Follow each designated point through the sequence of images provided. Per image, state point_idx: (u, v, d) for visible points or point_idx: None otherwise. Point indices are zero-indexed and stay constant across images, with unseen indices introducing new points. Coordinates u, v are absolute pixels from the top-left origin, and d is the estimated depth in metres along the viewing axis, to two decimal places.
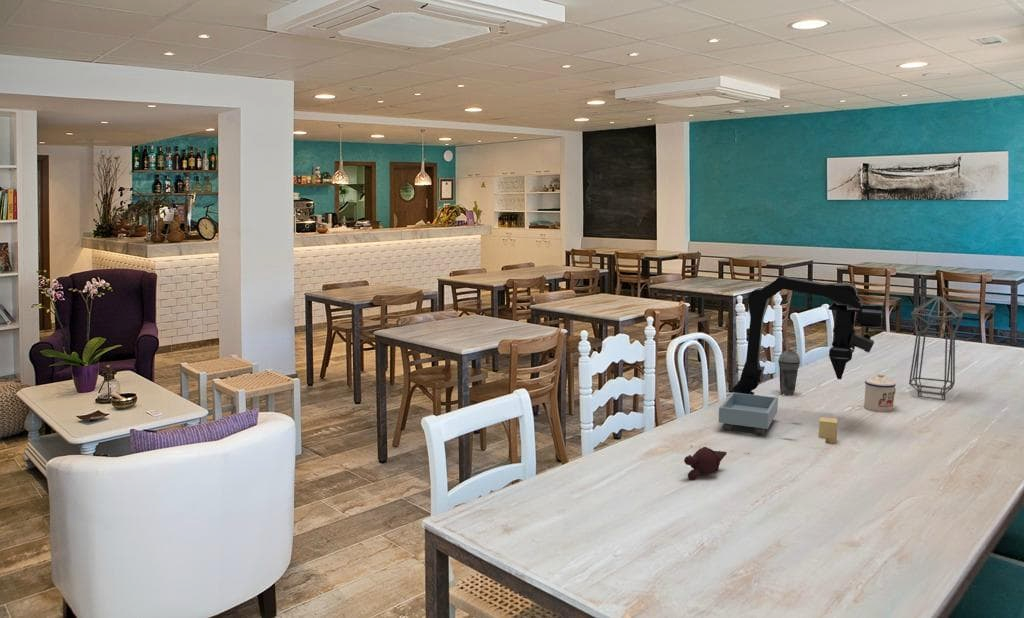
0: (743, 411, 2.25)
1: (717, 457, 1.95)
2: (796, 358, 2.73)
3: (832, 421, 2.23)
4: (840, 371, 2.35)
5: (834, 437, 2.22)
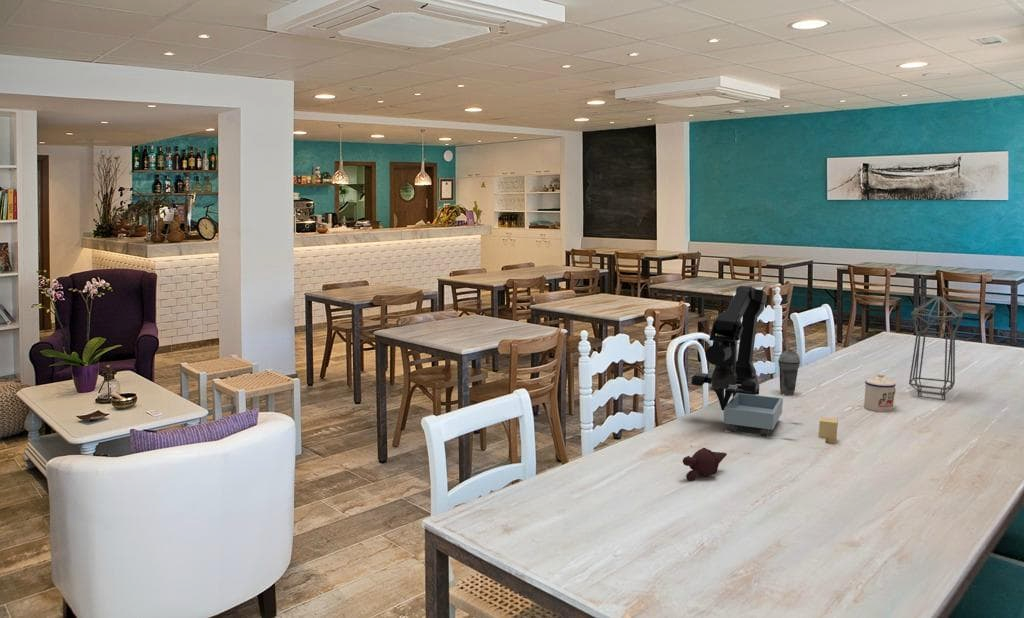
0: (748, 412, 2.24)
1: (716, 458, 1.94)
2: (796, 358, 2.73)
3: (832, 421, 2.23)
4: None
5: (834, 437, 2.22)
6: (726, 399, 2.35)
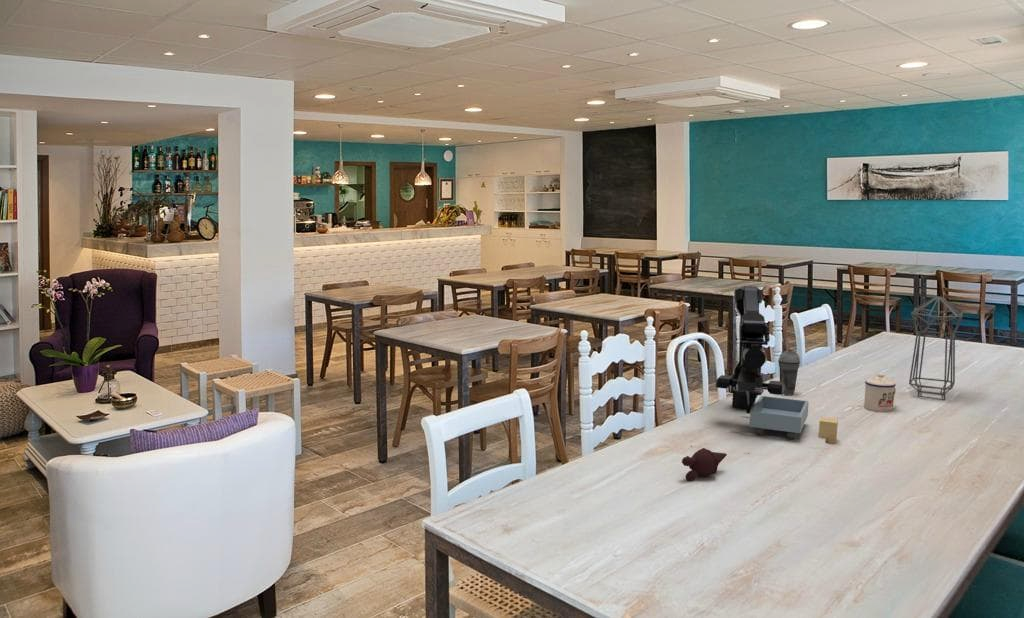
0: (775, 415, 2.21)
1: (715, 458, 1.94)
2: (796, 358, 2.73)
3: (832, 421, 2.23)
4: None
5: (834, 437, 2.22)
6: (751, 402, 2.32)
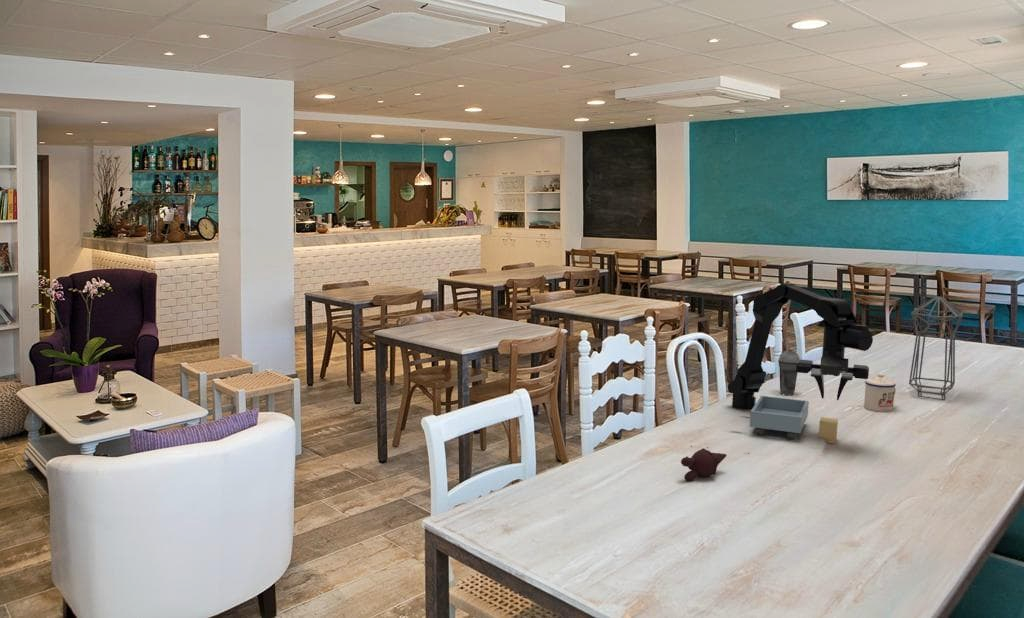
0: (775, 415, 2.21)
1: (715, 459, 1.93)
2: (796, 358, 2.73)
3: (832, 421, 2.23)
4: None
5: (834, 437, 2.22)
6: (841, 388, 2.21)
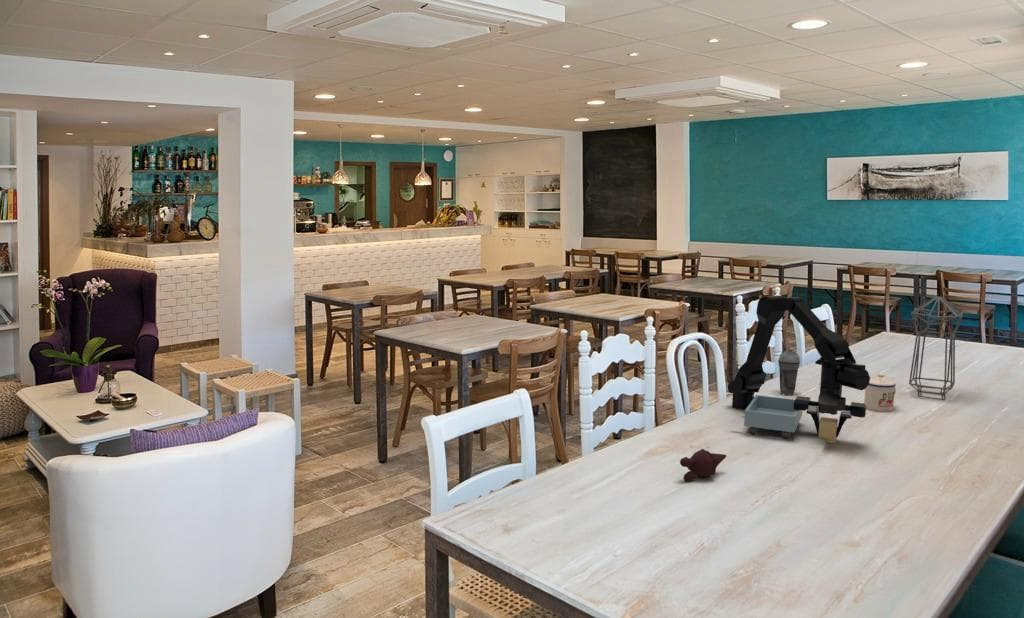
0: (769, 414, 2.22)
1: (714, 460, 1.93)
2: (796, 358, 2.73)
3: (832, 421, 2.23)
4: None
5: (834, 437, 2.22)
6: (840, 426, 2.22)
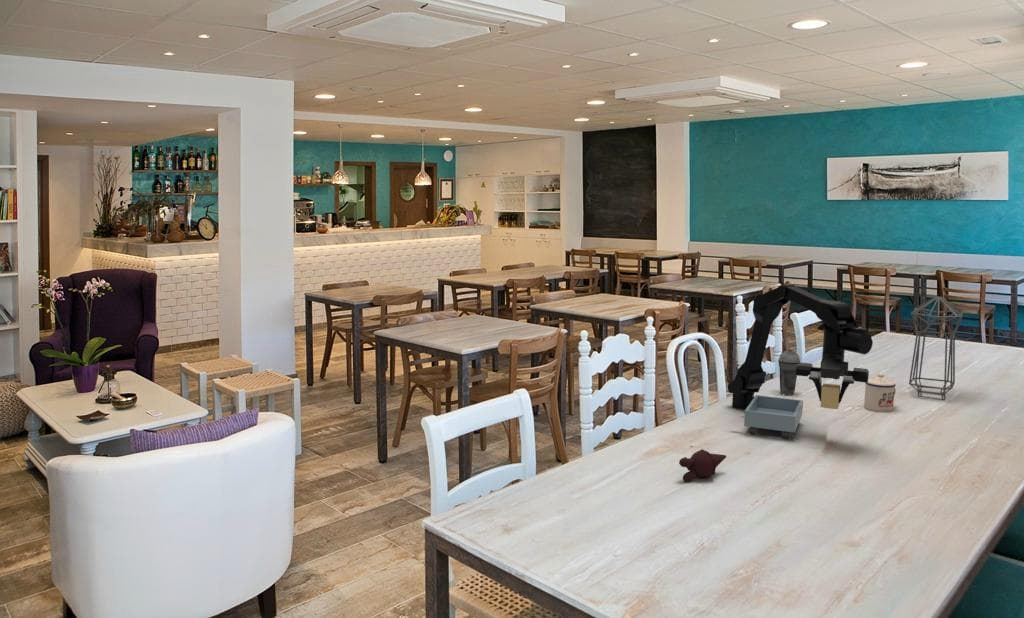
0: (769, 414, 2.22)
1: (714, 460, 1.93)
2: (796, 358, 2.73)
3: (834, 387, 2.22)
4: None
5: (836, 403, 2.21)
6: (843, 391, 2.21)
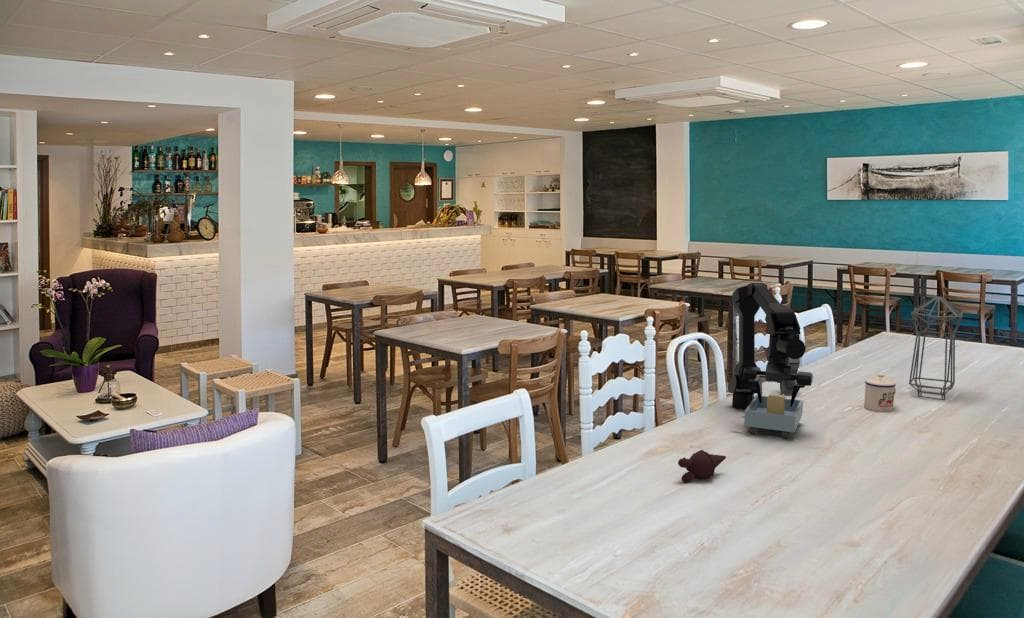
0: (769, 414, 2.22)
1: (713, 461, 1.92)
2: None
3: (779, 398, 2.29)
4: None
5: (781, 413, 2.28)
6: (794, 395, 2.27)
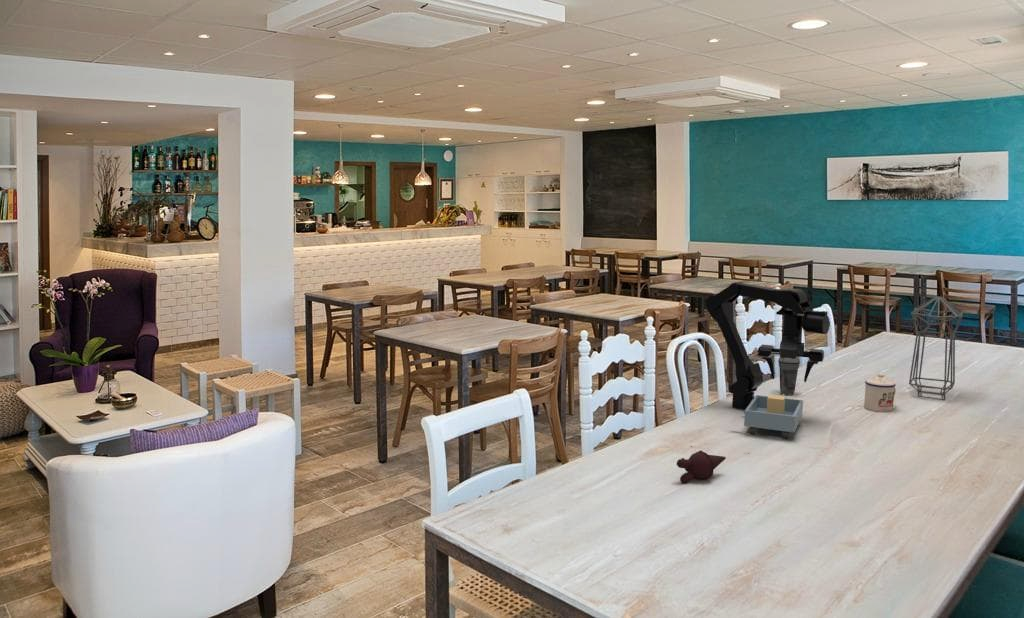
0: (769, 414, 2.22)
1: (712, 461, 1.92)
2: (796, 358, 2.73)
3: (779, 398, 2.29)
4: None
5: (781, 413, 2.28)
6: (808, 371, 2.40)
